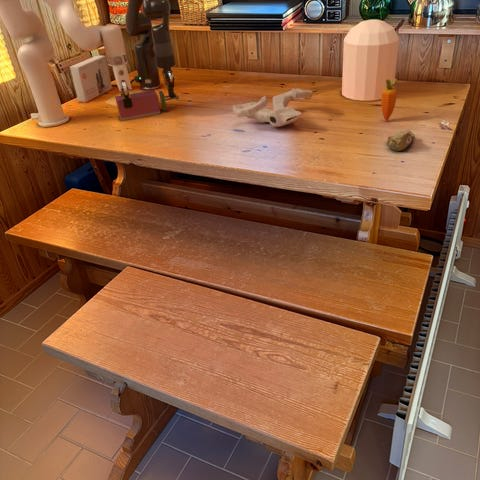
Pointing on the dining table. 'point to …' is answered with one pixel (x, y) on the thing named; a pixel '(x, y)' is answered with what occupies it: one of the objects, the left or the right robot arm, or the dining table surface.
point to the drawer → (165, 99)
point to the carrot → (388, 99)
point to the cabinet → (139, 105)
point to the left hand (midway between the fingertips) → (127, 104)
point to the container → (369, 60)
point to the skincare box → (91, 78)
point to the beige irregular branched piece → (280, 112)
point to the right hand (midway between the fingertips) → (171, 97)
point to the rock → (400, 140)
